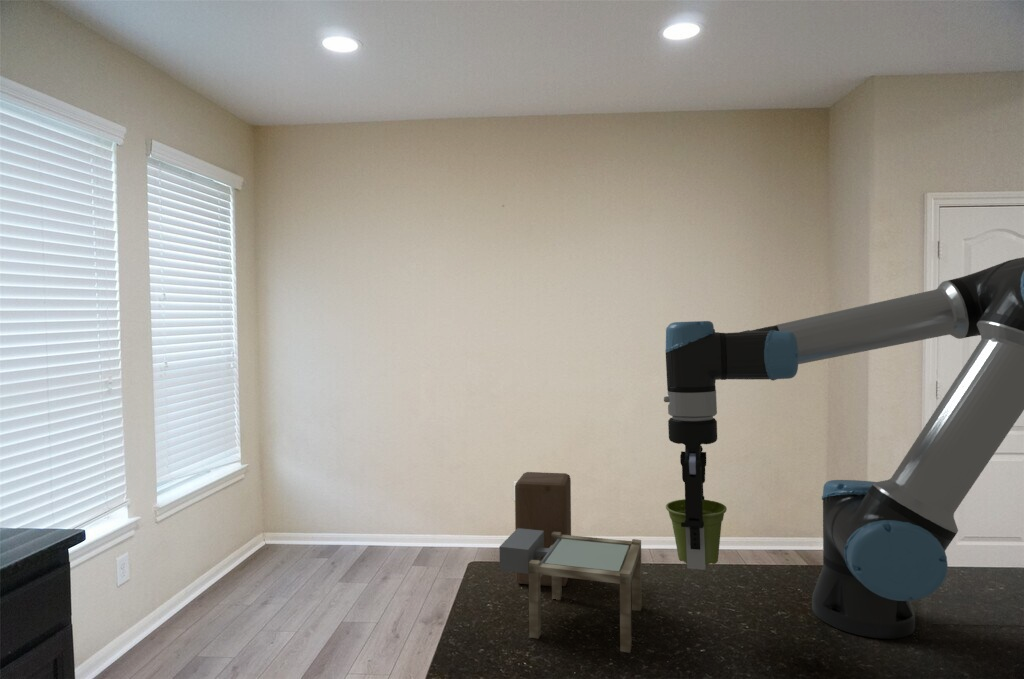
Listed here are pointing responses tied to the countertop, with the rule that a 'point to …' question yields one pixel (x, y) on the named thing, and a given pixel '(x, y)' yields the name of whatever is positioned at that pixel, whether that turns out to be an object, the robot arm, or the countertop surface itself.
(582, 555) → the trapdoor
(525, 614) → the countertop surface
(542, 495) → the wooden block
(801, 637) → the countertop surface
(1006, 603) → the countertop surface
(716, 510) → the plant pot
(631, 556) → the frame
